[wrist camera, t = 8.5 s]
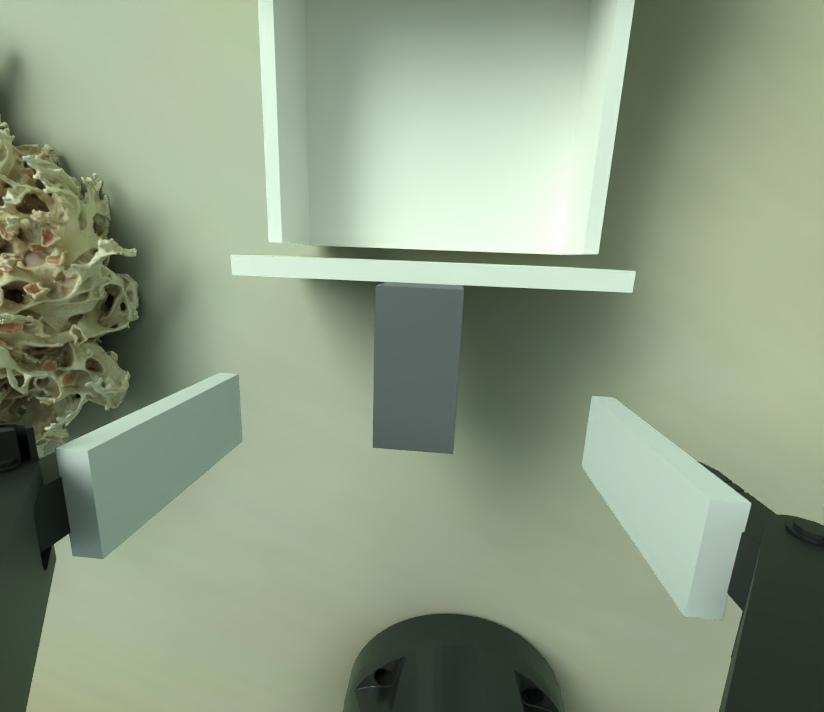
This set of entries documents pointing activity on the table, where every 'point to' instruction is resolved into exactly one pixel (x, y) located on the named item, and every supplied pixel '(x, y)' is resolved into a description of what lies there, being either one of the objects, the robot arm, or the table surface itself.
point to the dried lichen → (56, 293)
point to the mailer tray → (437, 165)
